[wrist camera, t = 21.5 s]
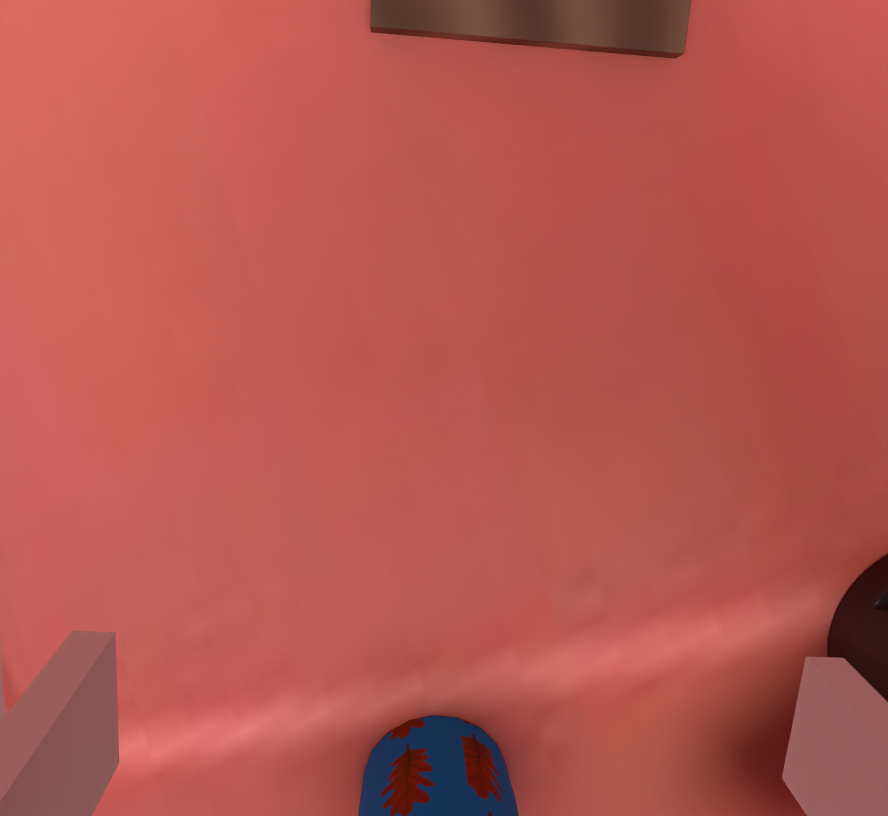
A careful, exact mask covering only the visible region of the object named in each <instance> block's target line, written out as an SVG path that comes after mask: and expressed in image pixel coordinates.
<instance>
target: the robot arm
mask: <svg viewBox="0 0 888 816" xmlns="http://www.w3.org/2000/svg"><path fill="white" fill-rule="evenodd" d="M118 764H119V738H118V706H117V674H116V642H115V632H87V631H72V632H71V633H70V635H69V636H68V637H67V638H66V640H65V641H64V642H63V643H62V645H61V646H60V647H59V649H58V650H57V651H56V652H55V654H54V655H53V656H52V657H51V659H50V660H49V661H48V663H47V664H46V665H45V666H44V668H43V669H42V670H41V671H40V673H39V674H38V675H37V677H36V678H35V679H34V680H33V682H32V683H31V684H30V686H29V687H28V688H27V689H26V691H25V692H24V693H23V694H22V696H21V697H20V698H19V700H18V701H17V702H16V703H15V705H14V706H13V707H12V708H11V710H10V711H9V712H8V714H7V715H6V716H5V717H4V719H3V720H2V721H1V723H0V816H92V815H93V813H94V811H95V809H96V807H97V805H98V803H99V801H100V799H101V797H102V795H103V793H104V791H105V789H106V787H107V785H108V783H109V781H110V779H111V777H112V776H113V774H114V772H115V770H116V768H117V766H118ZM782 779H783V781H784V782H785V784H786V785H787V787H788V788H789V790H790V791H791V793H792V794H793V796H794V797H795V799H796V800H797V802H798V803H799V805H800V806H801V808H802V809H803V811H804V812H805V814H806V815H807V816H888V557H886V558H884V559H883V560H881V561H880V562H878V563H877V564H875V565H874V566H873V567H872V568H870V569H869V570H868V571H867V572H866V573H865V574H864V575H863V576H862V577H861V578H860V579H859V580H858V581H857V582H856V583H855V584H854V585H853V587H852V588H851V589H850V590H849V592H848V593H847V595H846V596H845V598H844V599H843V601H842V603H841V604H840V606H839V608H838V610H837V613H836V615H835V618H834V620H833V623H832V627H831V631H830V636H829V644H828V657H806V658H805V663H804V668H803V673H802V678H801V683H800V688H799V693H798V698H797V703H796V709H795V714H794V719H793V724H792V729H791V734H790V739H789V744H788V749H787V754H786V759H785V764H784V769H783V775H782Z"/></svg>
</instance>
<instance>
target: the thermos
mask: <svg viewBox="0 0 888 816" xmlns="http://www.w3.org/2000/svg"><path fill="white" fill-rule="evenodd" d="M359 816H519V815H518V810H517V805H516V800H515V796H514V793H513V789H512V786H511V782H510V779H509V775H508V772H507V768H506V764H505V762H504V759H503V757H502V755H501V753H500V750H499V748H498V746H497V744H496V743H495V742H494V741H493V740H492V739H491V738H490V737H489V736H488V735H487V734H486V733H485V732H484V731H483V730H482V729H481V728H480V727H477V726H475V725H473V724H471V723H468V722H466V721H464V720H462V719H459V718H453V717H442V716H429V717H425V718H420V719H415V720H410V721H408V722H406V723H404V724H402V725H401V726H399V727H397V728H395V729H394V730H392V731H390V732H388V733H387V734H386V735H385V736H384V737H383V739H382V740H381V741H380V742H379V743H378V744H377V746H376V747H375V748H374V749H373V750H372V752H371V755H370V757H369V760H368V763H367V766H366V769H365V772H364V778H363V785H362V792H361V799H360V806H359Z"/></svg>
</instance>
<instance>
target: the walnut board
mask: <svg viewBox="0 0 888 816" xmlns="http://www.w3.org/2000/svg"><path fill="white" fill-rule="evenodd" d="M690 6H691V0H372V3H371V32H376V33H388V34H399V35H411V36H422V37H434V38H445V39H457V40H469V41H480V42H492V43H503V44H515V45H527V46H538V47H550V48H561V49H573V50H584V51H596V52H608V53H619V54H631V55H642V56H654V57H666V58H677V57H679V56H681V55H682V54H684V52H685V44H686V36H687V29H688V21H689V13H690Z"/></svg>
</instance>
